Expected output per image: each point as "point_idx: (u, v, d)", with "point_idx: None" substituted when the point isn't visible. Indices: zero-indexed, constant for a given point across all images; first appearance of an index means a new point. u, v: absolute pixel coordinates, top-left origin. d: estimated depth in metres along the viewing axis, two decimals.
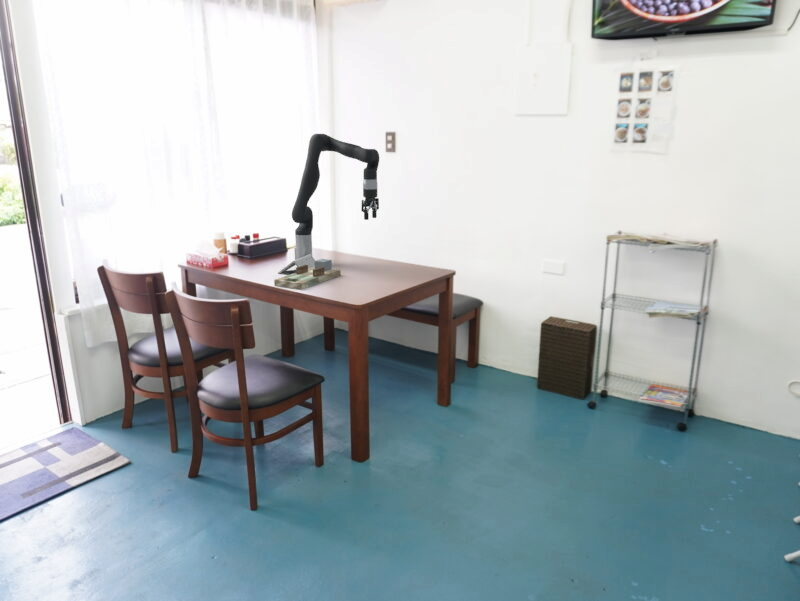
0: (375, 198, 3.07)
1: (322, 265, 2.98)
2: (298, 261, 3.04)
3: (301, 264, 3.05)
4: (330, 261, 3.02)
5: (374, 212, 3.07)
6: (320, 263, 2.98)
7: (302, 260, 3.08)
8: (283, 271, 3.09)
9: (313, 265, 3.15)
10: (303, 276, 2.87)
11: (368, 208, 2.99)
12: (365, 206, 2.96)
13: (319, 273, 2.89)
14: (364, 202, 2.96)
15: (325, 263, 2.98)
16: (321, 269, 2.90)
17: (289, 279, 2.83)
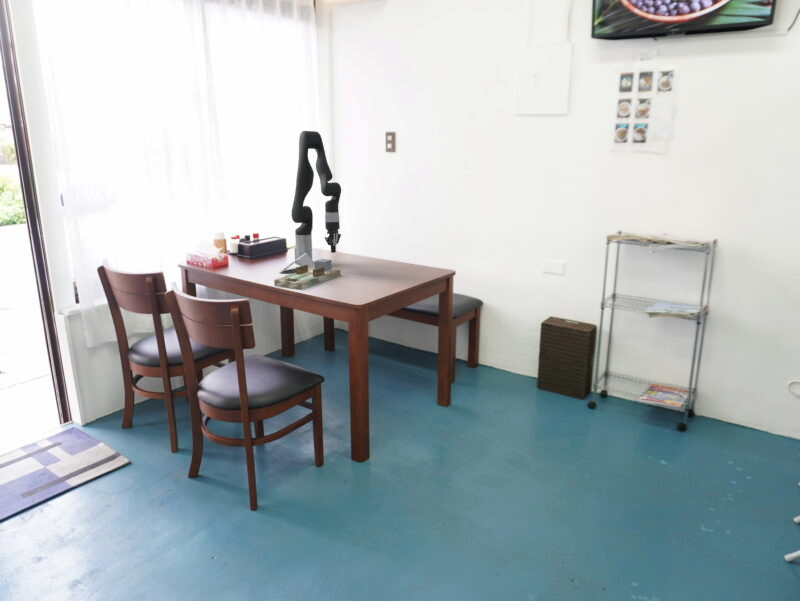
0: (338, 233, 3.11)
1: (322, 265, 2.98)
2: (300, 260, 3.07)
3: (303, 263, 3.08)
4: (330, 261, 3.02)
5: None
6: (320, 263, 2.98)
7: (302, 259, 3.12)
8: None
9: (311, 263, 3.19)
10: (303, 276, 2.87)
11: (333, 242, 3.05)
12: (330, 242, 3.02)
13: (319, 273, 2.89)
14: (327, 239, 3.01)
15: (325, 263, 2.98)
16: (321, 269, 2.90)
17: (289, 279, 2.83)
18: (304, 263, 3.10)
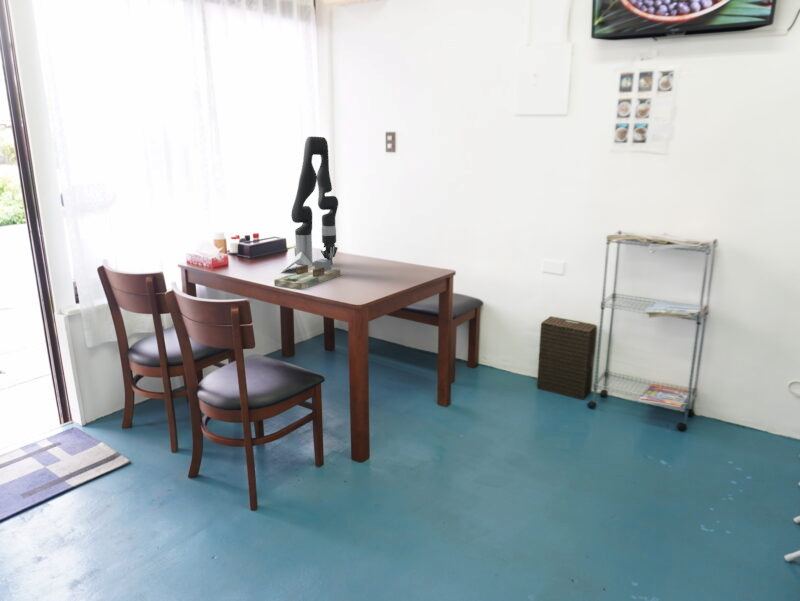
0: (334, 246, 3.10)
1: (322, 265, 2.98)
2: (301, 259, 3.10)
3: (304, 261, 3.11)
4: (330, 261, 3.02)
5: None
6: (320, 263, 2.98)
7: (302, 258, 3.14)
8: None
9: (308, 262, 3.22)
10: (303, 276, 2.87)
11: (330, 255, 3.04)
12: (326, 255, 3.01)
13: (319, 273, 2.89)
14: (324, 253, 3.00)
15: (325, 263, 2.98)
16: (321, 269, 2.90)
17: (289, 279, 2.83)
18: (305, 262, 3.12)
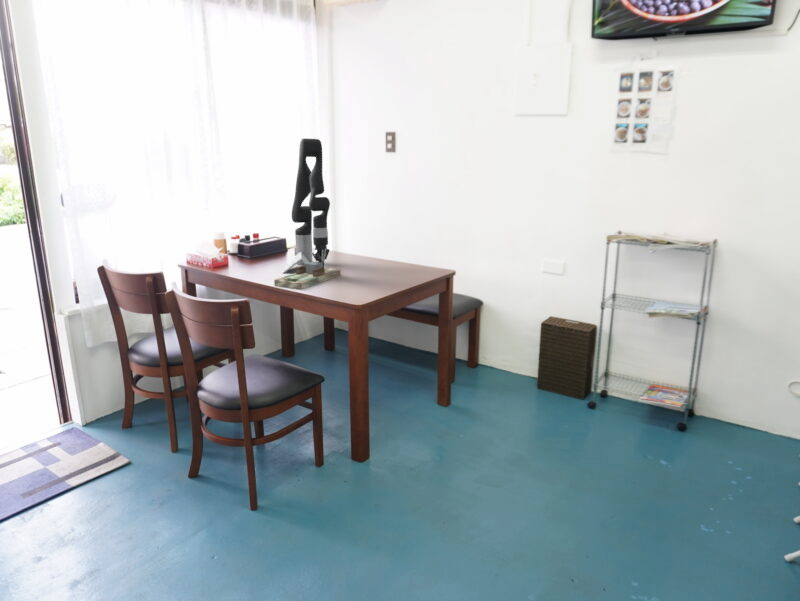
0: (326, 249, 3.03)
1: (313, 268, 2.91)
2: (302, 259, 3.10)
3: (305, 261, 3.11)
4: (322, 264, 2.96)
5: None
6: (311, 266, 2.91)
7: (303, 258, 3.14)
8: None
9: (308, 262, 3.23)
10: (303, 276, 2.87)
11: (321, 257, 2.97)
12: (318, 258, 2.95)
13: (319, 273, 2.89)
14: (315, 255, 2.93)
15: (316, 266, 2.92)
16: (321, 269, 2.90)
17: (289, 279, 2.83)
18: (306, 262, 3.13)
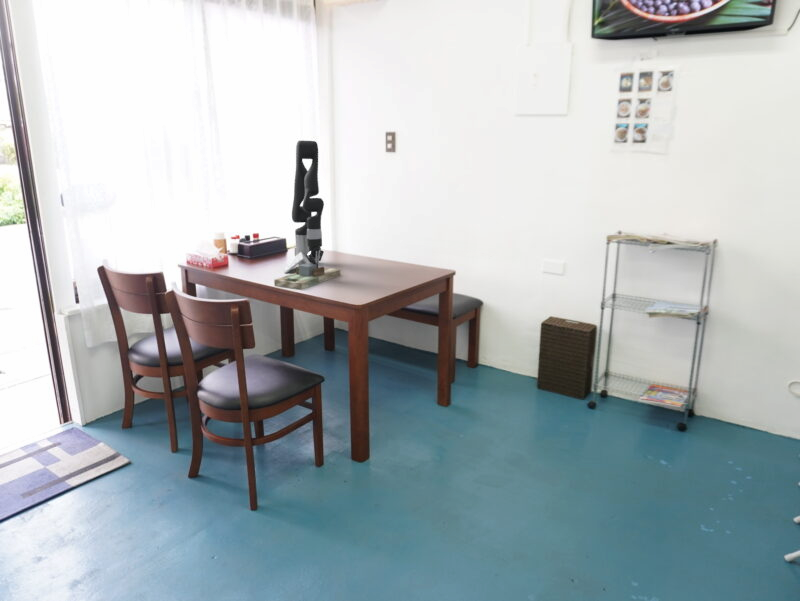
0: None
1: (306, 270, 2.86)
2: (304, 259, 3.10)
3: (306, 261, 3.11)
4: (315, 266, 2.91)
5: None
6: (304, 268, 2.87)
7: (304, 258, 3.14)
8: None
9: (309, 262, 3.23)
10: (303, 276, 2.87)
11: (315, 259, 2.93)
12: (312, 260, 2.90)
13: (319, 273, 2.89)
14: (309, 257, 2.89)
15: (310, 268, 2.87)
16: (321, 269, 2.90)
17: (289, 279, 2.83)
18: (307, 262, 3.13)
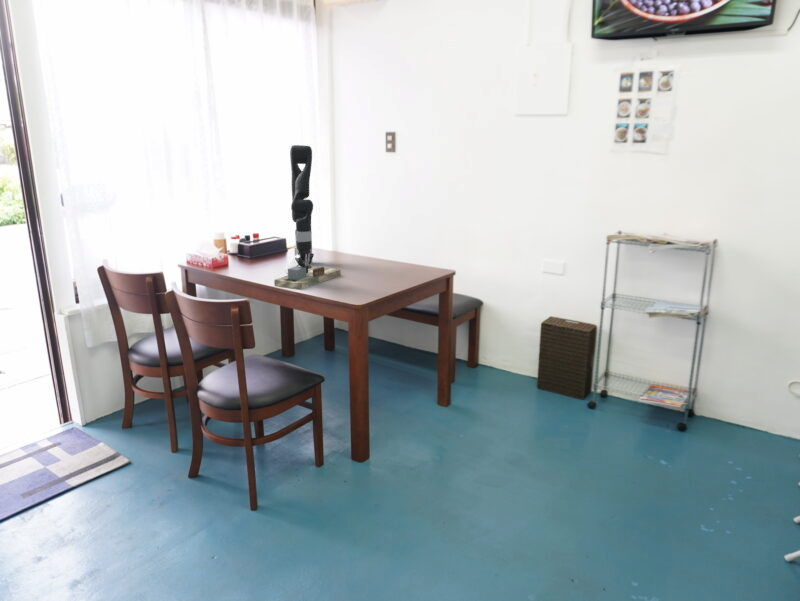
0: (310, 253, 2.91)
1: (296, 273, 2.79)
2: None
3: None
4: (305, 269, 2.84)
5: None
6: (293, 271, 2.79)
7: None
8: None
9: None
10: None
11: (305, 262, 2.85)
12: (301, 263, 2.82)
13: (319, 273, 2.89)
14: (298, 260, 2.81)
15: (299, 271, 2.79)
16: (321, 269, 2.90)
17: (289, 279, 2.83)
18: None
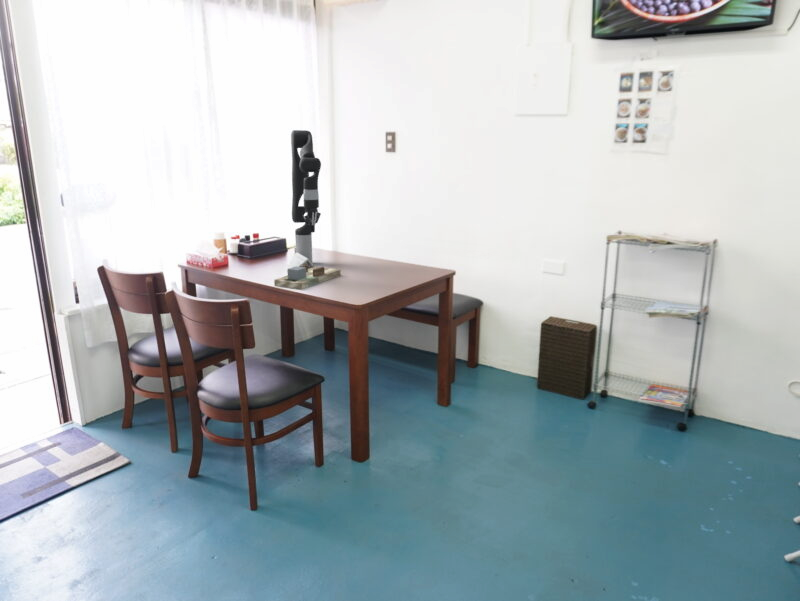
0: (317, 212, 2.94)
1: (295, 273, 2.79)
2: None
3: None
4: (305, 269, 2.84)
5: None
6: (293, 271, 2.79)
7: None
8: None
9: (307, 262, 3.23)
10: None
11: (312, 221, 2.89)
12: (308, 221, 2.86)
13: (319, 273, 2.89)
14: (305, 218, 2.85)
15: (299, 271, 2.79)
16: (321, 269, 2.90)
17: (289, 279, 2.83)
18: None
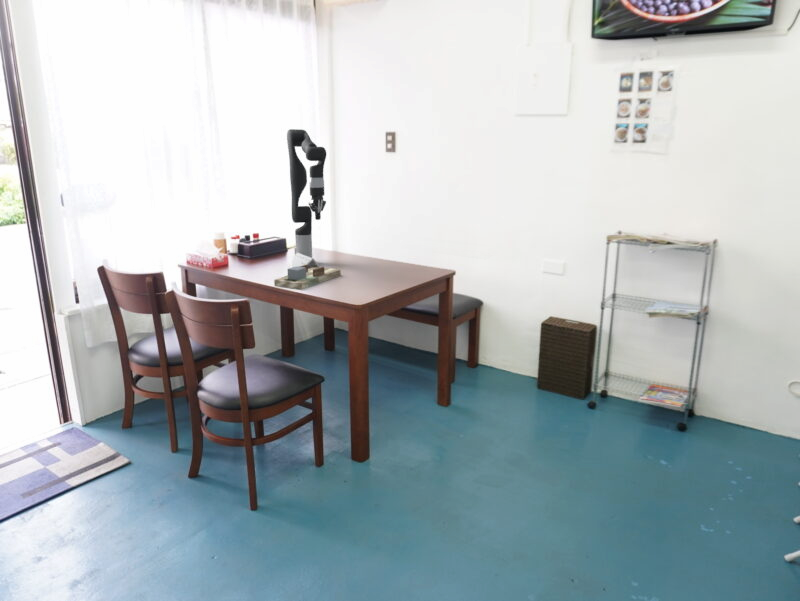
0: (323, 200, 3.03)
1: (295, 273, 2.79)
2: None
3: None
4: (305, 269, 2.84)
5: None
6: (293, 271, 2.79)
7: None
8: None
9: None
10: None
11: (318, 208, 2.97)
12: (314, 208, 2.95)
13: (319, 273, 2.89)
14: (311, 205, 2.94)
15: (299, 271, 2.79)
16: (321, 269, 2.90)
17: (289, 279, 2.83)
18: None
